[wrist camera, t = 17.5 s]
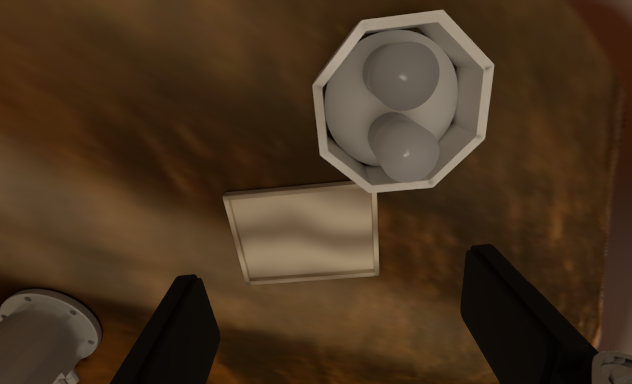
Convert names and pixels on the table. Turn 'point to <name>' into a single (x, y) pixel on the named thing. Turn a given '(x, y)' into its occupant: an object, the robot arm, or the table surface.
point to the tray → (305, 232)
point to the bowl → (434, 115)
